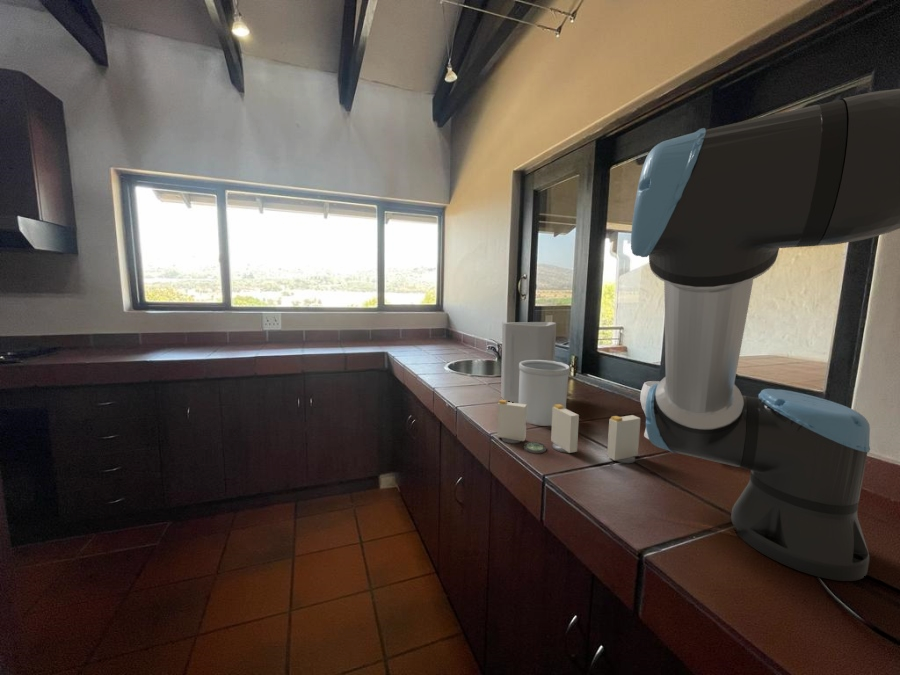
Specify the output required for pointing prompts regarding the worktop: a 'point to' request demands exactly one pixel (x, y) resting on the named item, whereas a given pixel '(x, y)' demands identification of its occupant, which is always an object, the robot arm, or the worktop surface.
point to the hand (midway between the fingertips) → (708, 327)
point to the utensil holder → (542, 389)
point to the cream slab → (511, 421)
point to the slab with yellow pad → (623, 438)
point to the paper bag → (523, 351)
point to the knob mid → (564, 429)
